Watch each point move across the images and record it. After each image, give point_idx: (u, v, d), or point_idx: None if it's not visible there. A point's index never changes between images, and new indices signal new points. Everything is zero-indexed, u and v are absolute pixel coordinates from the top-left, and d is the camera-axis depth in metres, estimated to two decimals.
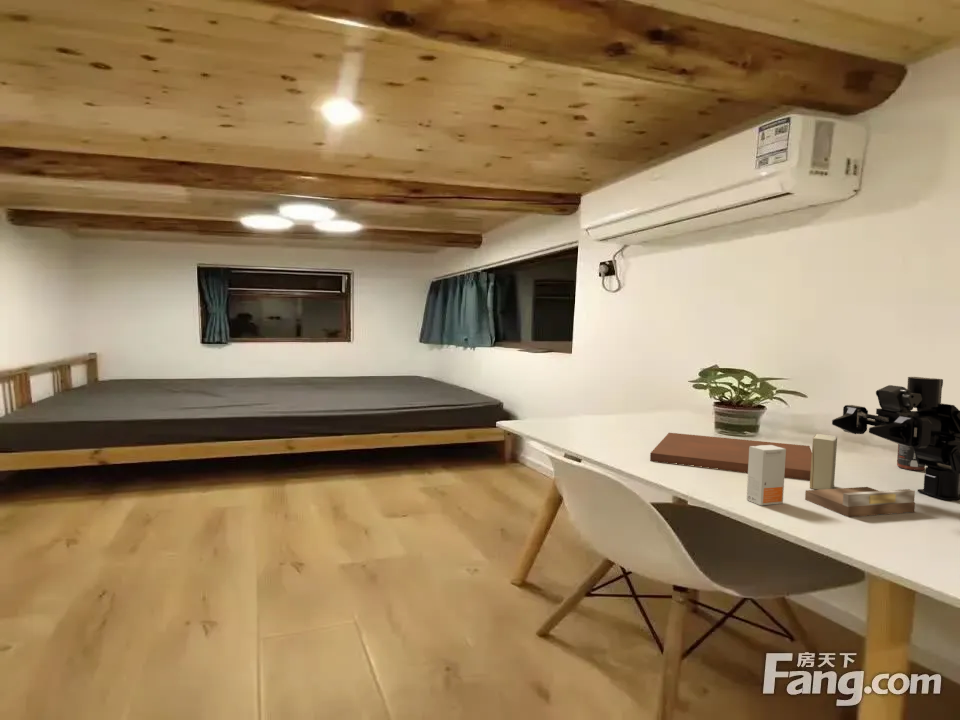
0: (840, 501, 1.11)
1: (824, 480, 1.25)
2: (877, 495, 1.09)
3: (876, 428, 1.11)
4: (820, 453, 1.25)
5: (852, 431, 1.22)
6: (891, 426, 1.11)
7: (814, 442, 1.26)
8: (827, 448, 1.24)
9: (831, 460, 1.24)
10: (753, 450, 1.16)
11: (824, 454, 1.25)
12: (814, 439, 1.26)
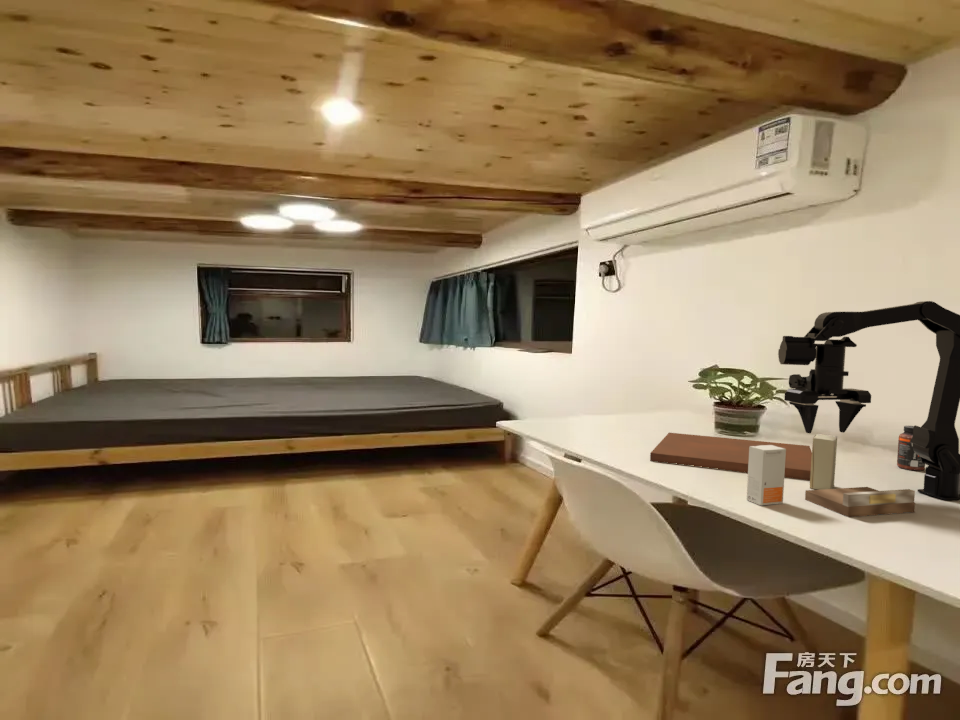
0: (840, 501, 1.11)
1: (824, 480, 1.25)
2: (877, 495, 1.09)
3: (805, 428, 1.26)
4: (821, 453, 1.25)
5: (853, 409, 1.25)
6: (801, 416, 1.26)
7: (814, 442, 1.26)
8: (827, 448, 1.24)
9: (831, 460, 1.24)
10: (753, 450, 1.16)
11: (824, 454, 1.25)
12: (814, 439, 1.26)
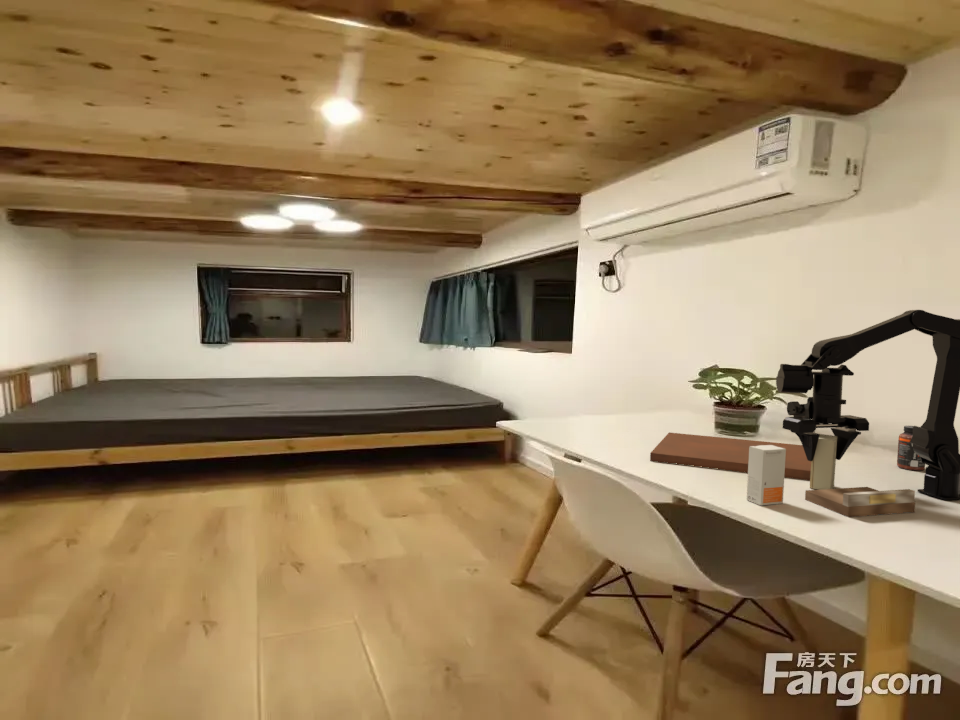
0: (840, 501, 1.11)
1: (824, 480, 1.25)
2: (877, 495, 1.09)
3: (806, 455, 1.27)
4: (820, 453, 1.25)
5: (848, 437, 1.26)
6: (802, 443, 1.27)
7: None
8: (827, 448, 1.24)
9: (831, 460, 1.24)
10: (753, 450, 1.16)
11: (824, 454, 1.25)
12: None
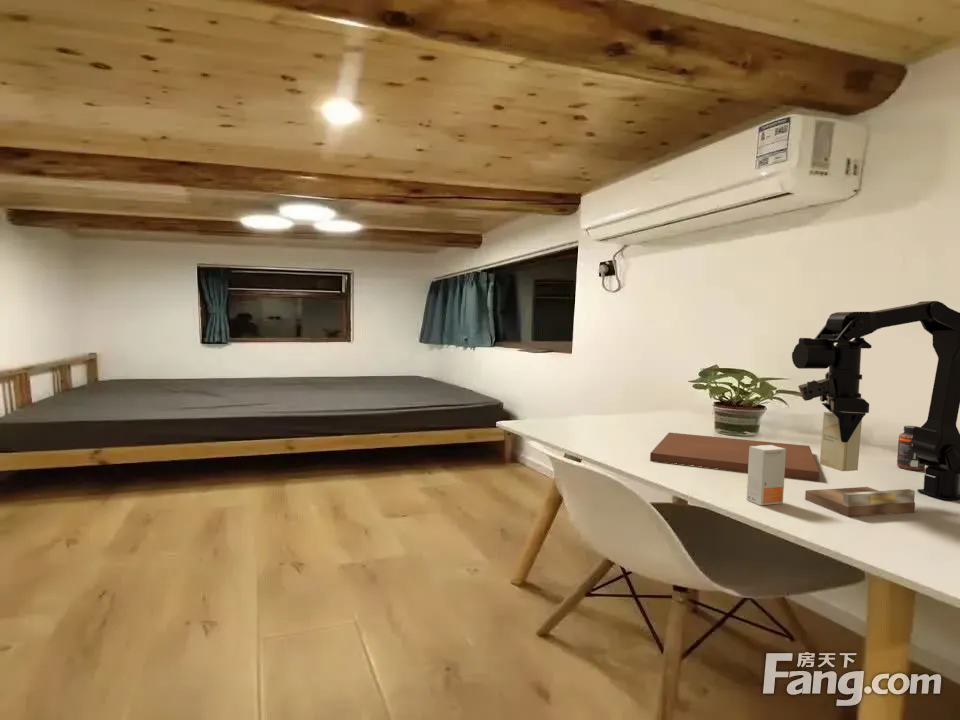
0: (840, 501, 1.11)
1: (854, 459, 1.18)
2: (877, 495, 1.09)
3: (842, 437, 1.17)
4: None
5: None
6: (841, 425, 1.16)
7: None
8: None
9: (859, 437, 1.18)
10: (753, 450, 1.16)
11: (855, 432, 1.18)
12: None
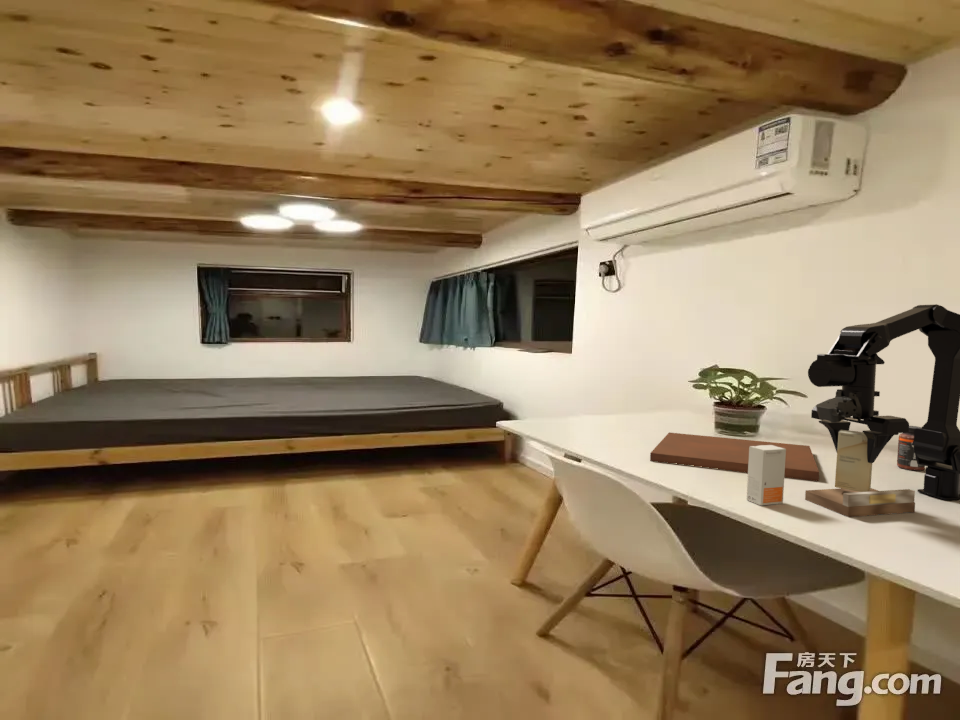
0: (840, 501, 1.11)
1: None
2: (877, 495, 1.09)
3: (871, 458, 1.12)
4: None
5: (848, 427, 1.20)
6: (873, 446, 1.10)
7: None
8: None
9: None
10: (753, 450, 1.16)
11: None
12: None
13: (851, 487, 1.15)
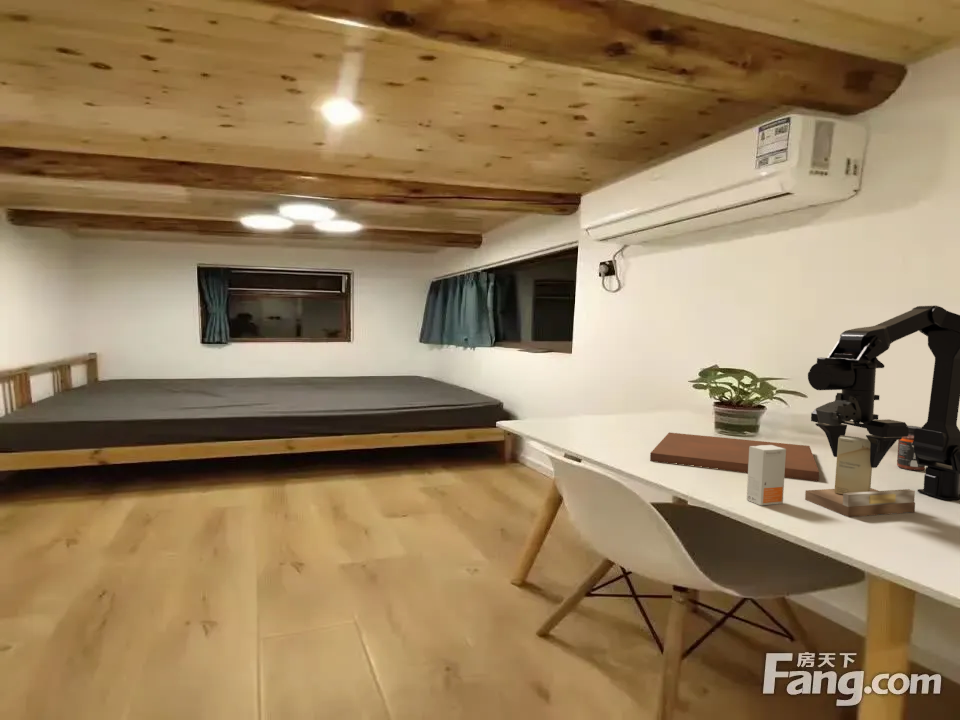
0: (840, 501, 1.11)
1: (870, 484, 1.15)
2: (877, 495, 1.09)
3: (874, 463, 1.11)
4: None
5: (844, 430, 1.21)
6: (876, 450, 1.10)
7: None
8: None
9: None
10: (753, 450, 1.16)
11: None
12: None
13: None
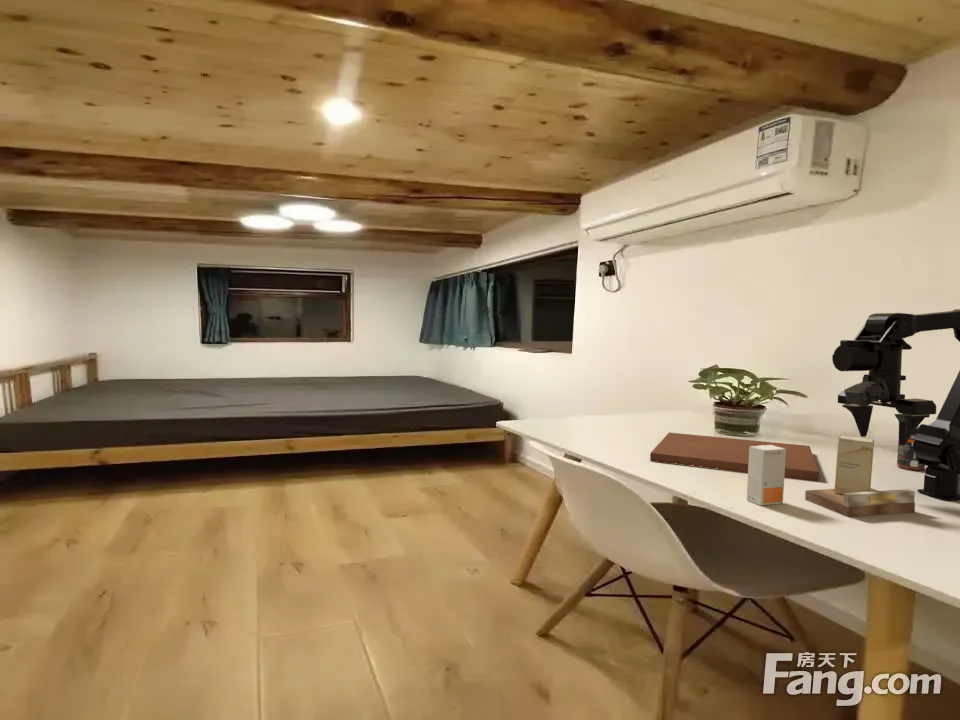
0: (840, 501, 1.11)
1: (870, 484, 1.15)
2: (877, 495, 1.09)
3: (902, 440, 1.15)
4: (872, 457, 1.14)
5: (871, 411, 1.25)
6: (905, 428, 1.14)
7: (872, 446, 1.12)
8: (873, 449, 1.15)
9: (872, 461, 1.15)
10: (753, 450, 1.16)
11: (872, 457, 1.14)
12: (872, 443, 1.12)
13: None
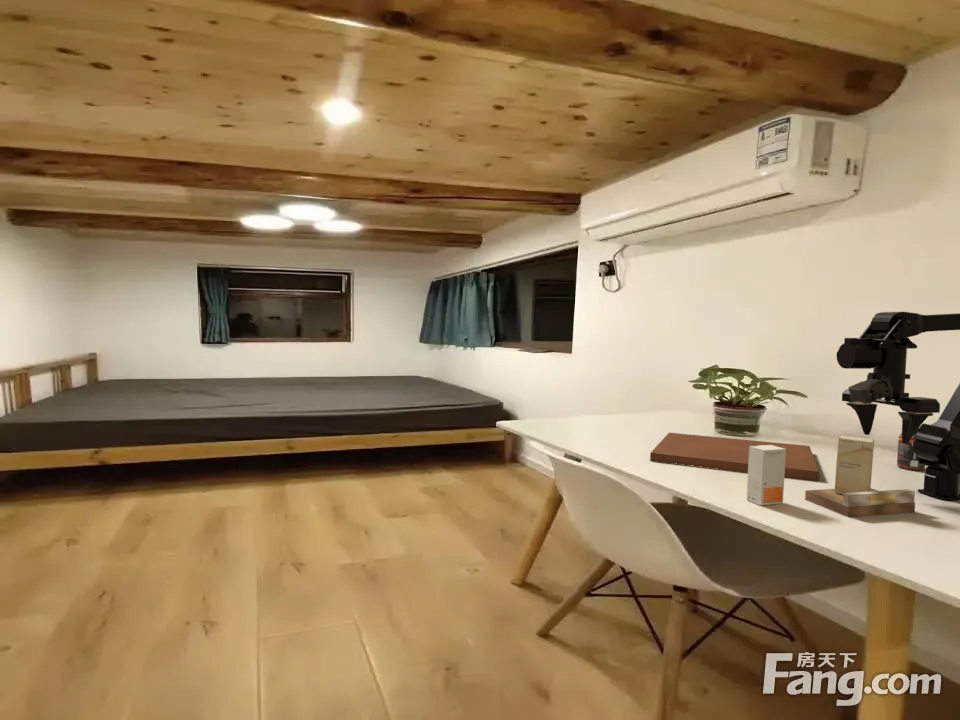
0: (840, 501, 1.11)
1: (870, 484, 1.15)
2: (877, 495, 1.09)
3: (905, 438, 1.16)
4: (872, 457, 1.14)
5: (875, 409, 1.26)
6: (908, 426, 1.14)
7: (872, 446, 1.12)
8: (873, 449, 1.15)
9: (872, 461, 1.15)
10: (753, 450, 1.16)
11: (872, 457, 1.14)
12: (872, 443, 1.12)
13: None
